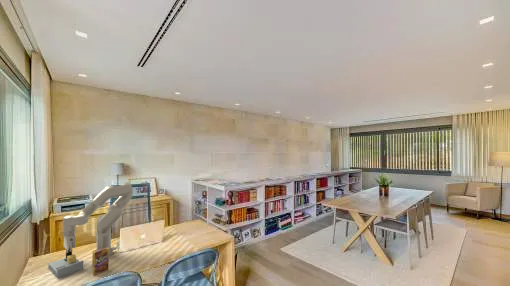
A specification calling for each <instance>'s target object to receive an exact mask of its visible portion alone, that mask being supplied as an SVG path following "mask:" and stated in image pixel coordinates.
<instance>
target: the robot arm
mask: <svg viewBox="0 0 510 286" xmlns="http://www.w3.org/2000/svg"><path fill="white" fill-rule="evenodd" d="M133 189H134V188H133V186H132V184H131V183H130V182H123V183H122V184H120V185H118V186H117V185H116V186H113V185H107V186H105V187H104V188H103V189H102V190H101V191H100V192H99V193H98V194H97V195H96V196H95V197H94V198H93V199H92V200H91V201H90V202H89V203H88V204H87V205H86V206H85V207H84V208H83V209H82V210H81V211H80V212H79V213H78V214H77V215H75V214H70V215H69V214H68V215H66V216H65V215H64V217H63V218H62V237H63V248H65V258H67V256H70V255H73V249H75V248H76V247H77V246H76V245H77V244H76V243H77V241H76V234H77V226H83V225H86V224H87V223H88V221H89V218H90V217H91V216H92V215H93V214H94V213H95V212H96V211H97V210H98V209H101V208H102V207H103V206H104V205H105V204H106V203H107V202H108V201H109V200H110V199H112V198H117V199H116V200H115V201H114V202H113V203H112V204H111V205H110V206H109V208H108V209H107V212H106V213H105V214H101V215H100V216H99V217H98V218H97V219H96V242H95V243H96V248H95V250H98V249H102V248H105V247H108V248H109V257H112V255H113V254H114V251H116V250H118V246H112V227H113V225H114V224H115V223H116V222H117V221H118V220H119V219H120V217H121V216H122V214H123V209H124V208H126V207H127V204H129V202H130V201H131V199H132V198H133V193H134V192H133V191H134V190H133Z"/></svg>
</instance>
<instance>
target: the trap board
mask: <svg viewBox="0 0 510 286" xmlns="http://www.w3.org/2000/svg"><path fill="white" fill-rule="evenodd" d="M47 265H48V266H47V267H48V268H47V269H49V271H51V272H52V274H53V275H54V276H55V277H56V279H59V278H61V277H64V276H67V275H70V274H72V273H76V272H78V271H80V270H84V260H79V259H78V258H76V261H75V262H72V263H68V262H67V258H66V257H64V258H61V259H58V260H55V261H52V262H49V263H47Z"/></svg>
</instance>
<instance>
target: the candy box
mask: <svg viewBox="0 0 510 286" xmlns="http://www.w3.org/2000/svg"><path fill="white" fill-rule="evenodd" d="M109 259H110V256H109V248H108V247H105V248H102V249H98V250H96V249H95V250H92V260H91V261H92V262H91V263H92V264H91V274H92V275H93V276H95V275H97V274H100V273H103V272H107V271H109V262H110V261H109Z"/></svg>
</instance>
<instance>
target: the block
mask: <svg viewBox="0 0 510 286" xmlns="http://www.w3.org/2000/svg"><path fill="white" fill-rule="evenodd" d="M76 259H77V256H76V254H73V253H72V255H70V256H67V262H68V263H72V262H75V261H76Z"/></svg>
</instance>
